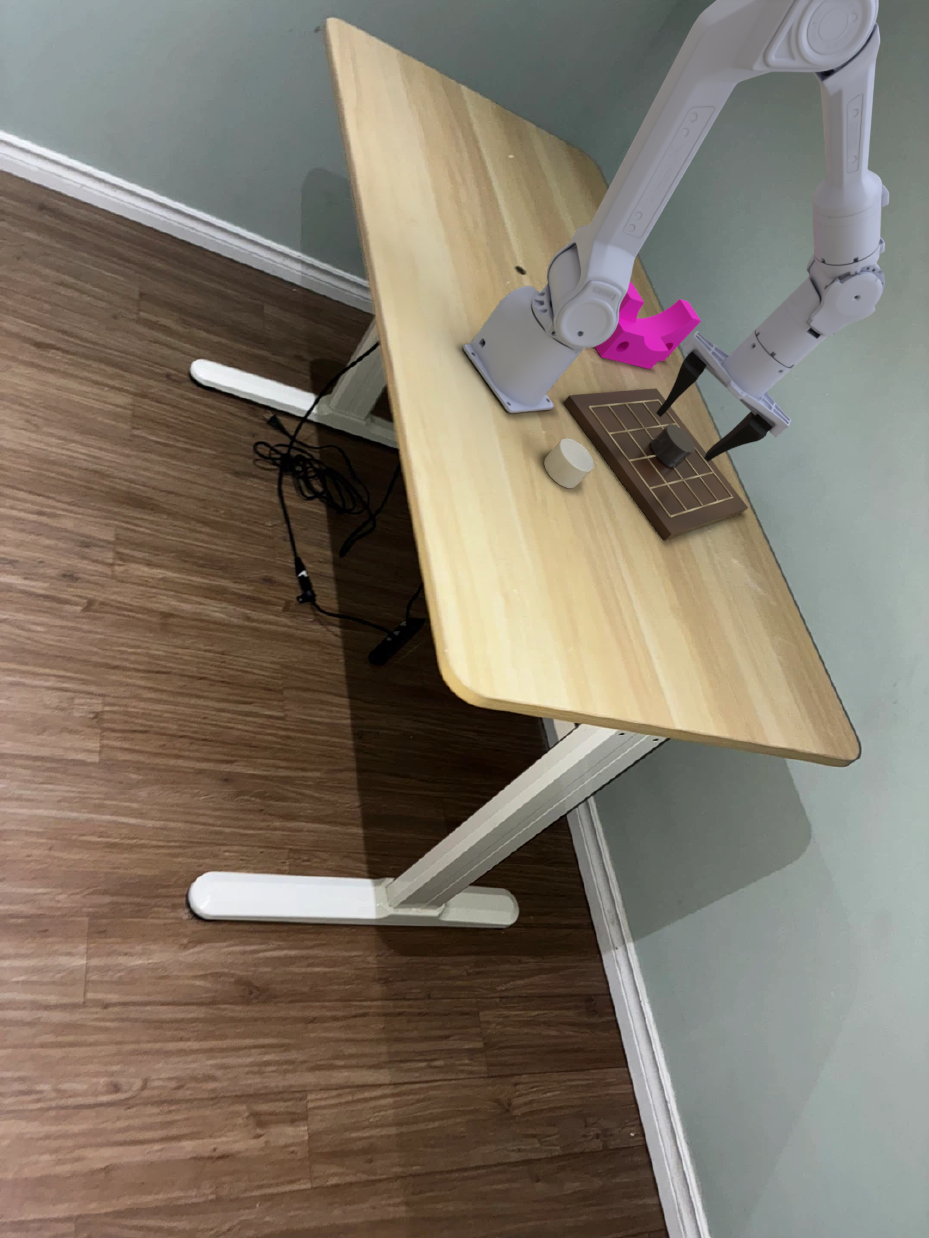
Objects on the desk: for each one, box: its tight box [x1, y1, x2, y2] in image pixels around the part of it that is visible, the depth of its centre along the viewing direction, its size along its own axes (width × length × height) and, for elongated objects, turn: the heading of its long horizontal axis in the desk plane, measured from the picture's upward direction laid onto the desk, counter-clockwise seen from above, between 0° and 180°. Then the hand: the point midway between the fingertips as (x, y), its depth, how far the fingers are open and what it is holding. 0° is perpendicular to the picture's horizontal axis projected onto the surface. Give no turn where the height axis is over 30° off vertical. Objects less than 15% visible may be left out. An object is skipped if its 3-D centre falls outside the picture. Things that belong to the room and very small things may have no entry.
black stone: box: [651, 424, 695, 468], centre depth 97 cm, size 4×4×3 cm
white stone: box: [543, 437, 595, 489], centre depth 85 cm, size 4×4×3 cm
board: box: [563, 387, 749, 541], centre depth 98 cm, size 20×20×1 cm
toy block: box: [594, 281, 702, 370], centre depth 109 cm, size 15×6×8 cm, turn 115°
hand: (683, 434), depth 96 cm, fingers open, 7 cm apart
